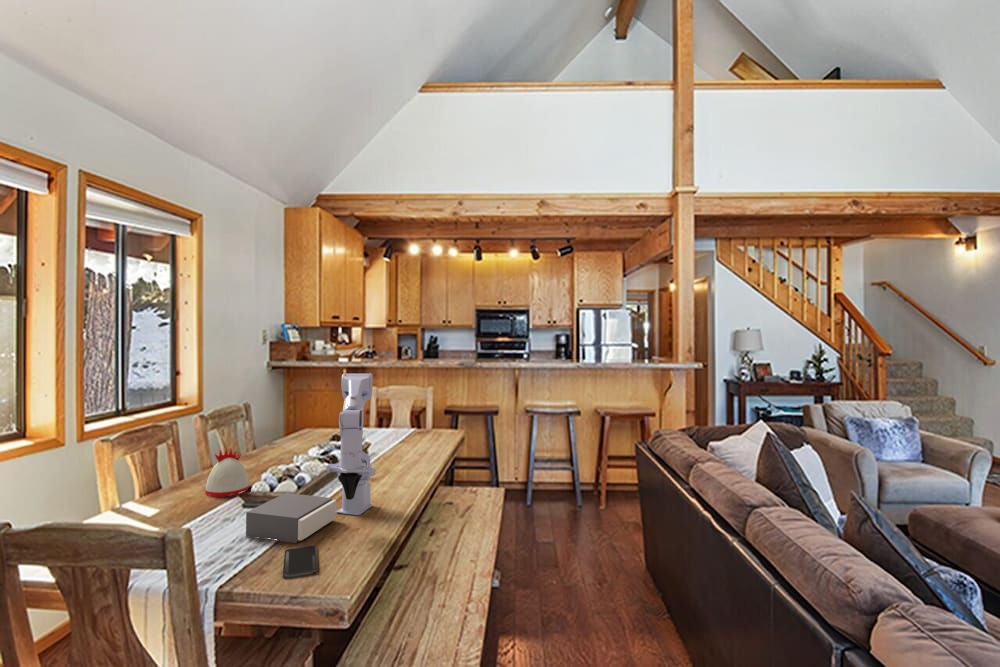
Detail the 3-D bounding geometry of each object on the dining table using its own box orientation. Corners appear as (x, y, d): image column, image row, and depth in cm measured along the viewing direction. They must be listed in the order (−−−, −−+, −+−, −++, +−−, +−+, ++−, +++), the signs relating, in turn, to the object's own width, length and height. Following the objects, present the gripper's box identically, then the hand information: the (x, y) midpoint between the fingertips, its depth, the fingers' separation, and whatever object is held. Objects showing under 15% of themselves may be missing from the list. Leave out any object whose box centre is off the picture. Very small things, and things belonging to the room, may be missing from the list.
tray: (336, 517, 153) (336, 500, 153) (301, 540, 136) (301, 520, 136) (290, 512, 157) (290, 495, 156) (250, 533, 140) (251, 514, 140)
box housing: (331, 520, 153) (332, 497, 153) (296, 543, 137) (297, 518, 137) (285, 514, 157) (285, 493, 157) (245, 536, 140) (246, 512, 140)
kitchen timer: (205, 487, 182) (206, 446, 181) (248, 482, 188) (248, 442, 188) (205, 499, 169) (205, 454, 169) (250, 493, 176) (251, 450, 176)
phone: (282, 576, 117) (285, 549, 131) (282, 580, 117) (285, 553, 131) (318, 570, 120) (317, 545, 134) (318, 575, 120) (317, 549, 134)
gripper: (320, 452, 143) (319, 500, 143) (367, 456, 140) (366, 505, 140) (334, 447, 150) (333, 492, 150) (379, 450, 147) (378, 497, 147)
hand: (350, 498), depth 146 cm, fingers closed
